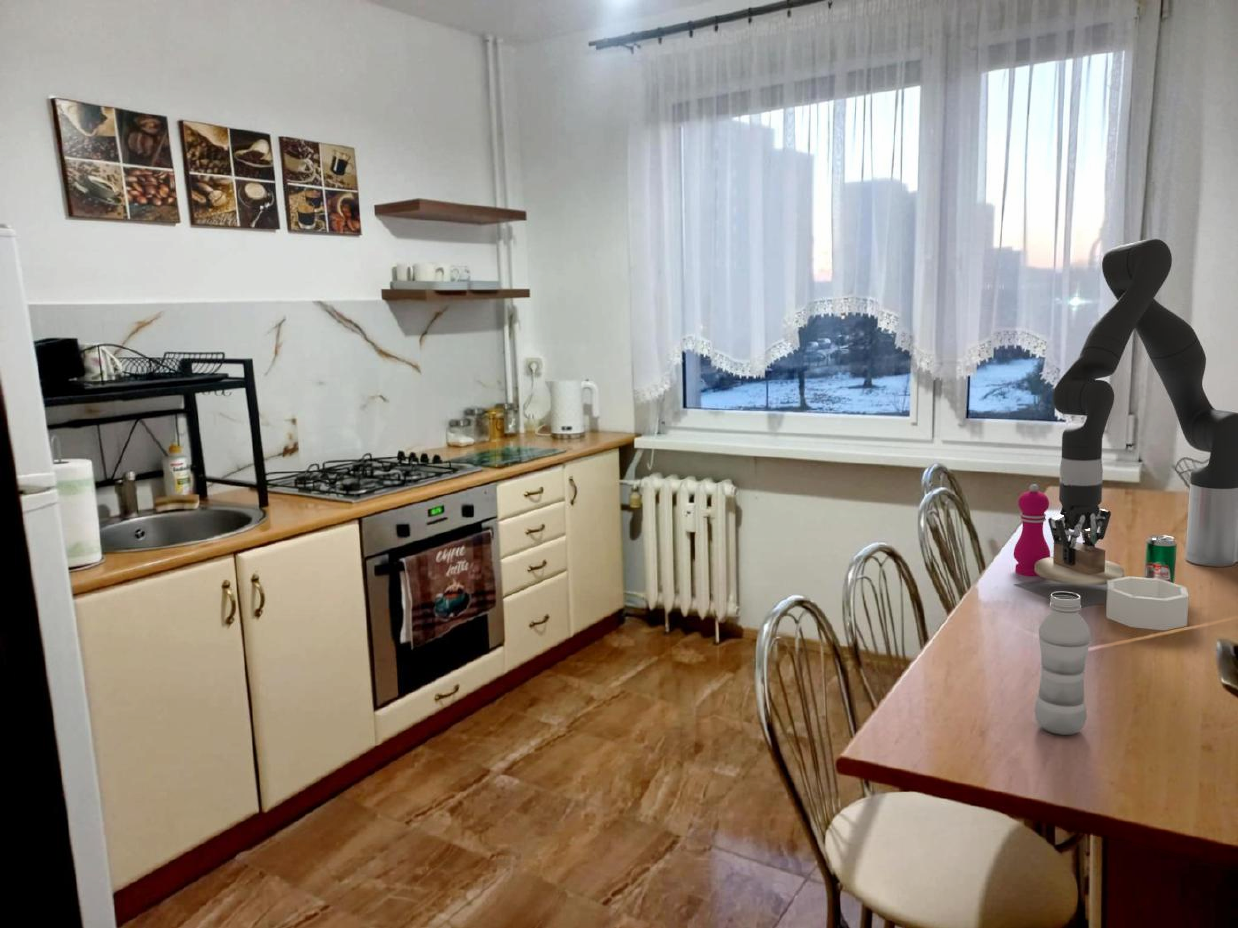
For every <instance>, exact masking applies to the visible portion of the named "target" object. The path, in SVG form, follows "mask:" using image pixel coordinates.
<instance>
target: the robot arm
mask: <svg viewBox="0 0 1238 928" xmlns="http://www.w3.org/2000/svg"><path fill="white" fill-rule="evenodd" d="M1172 255H1173V254H1172V252H1171V250H1170V247H1169V246H1168V244H1167V243H1166V242H1164V240H1161V239H1157V238H1150V239H1144V240H1140V241H1135V242H1130V243H1127V244H1122V245H1119V246H1116V247H1112V248H1110V249H1109V250H1108V251H1106V252H1105V253H1104V255H1103V257H1102V260H1101V261H1102V262H1101V269H1102V274H1103V277H1104V279H1105V282H1106V284H1107V286H1108V288H1109V289H1110V291H1111V293H1112V294H1113V296H1114V297H1115V299H1116V300H1117V301H1116V302H1115V303H1114V304H1113V305H1112V307H1110V308H1109V309H1108V310H1107V311H1106V312H1105V313H1104V314H1103V315H1102V316H1101V317H1100V318H1099V319H1098V321H1097V322H1096V323H1095V324H1094V326H1093V327H1092V328H1091V330H1090V331H1089V333H1088V335H1087V337H1086V340H1085V342H1084V344H1083V347H1082V349H1081V351H1080V354H1079V356H1078V358H1077V359H1075V361H1074V362H1073V363H1072V365H1071V366H1070V367H1069V368H1068V370H1067V371H1065V373H1064V374H1063V376H1061V378H1060V379H1059V380H1058V382H1057V384H1056V385H1055V388H1054V390H1053V393H1052V403H1053V407H1054V409H1056V411H1057V412H1059V414H1063V415H1069V416H1083V417H1084V416H1086V419H1085V421H1084V423H1083V425H1079V426H1078V425H1076V426H1072V427H1071V426H1070V427H1067V428H1066V429H1064V430H1063V432H1062V433H1061V434H1062V435H1061V457H1060V458H1061V461H1060V466H1059V484H1058V485H1059V489H1058V491H1059V493H1058V497H1059V498H1058V500H1059V502H1060V504H1061V510H1060V512H1059V515H1057V516H1055V517H1049V518H1048V520H1047V521H1048V525H1049V529H1050V533H1051V535H1052V536H1051V537H1052V540H1053V544H1054V543H1055V544H1059V545H1062V546H1063V562H1064V563H1065V564H1067V565H1070V566H1073V565H1075V549H1076V548H1074V547H1075V544H1076V542H1077V540H1078V538H1079V537H1080V535H1081V537H1082V541H1083V542H1081V543H1083V544H1086V545H1089V546H1093V547H1096V544H1097V543H1098V541H1099V540H1100V541H1101V540H1104V538H1105V536H1106V532H1107V528H1108V526H1109V523H1110V519H1111V515H1112V512H1111V511H1110V510H1107V509H1103V508H1100V506H1099V505H1100V504H1101V503H1102V500H1103V471H1104V469H1103V461H1102V460H1103V459H1102V455H1103V438H1104V433H1105V429H1106V427H1107V423H1108V420H1109V417H1110V415H1111V411H1112V409H1113V407H1114V403H1115V392H1114V389H1113V387H1112V386H1111V383H1109V382H1107V381H1105V380H1102V379H1103V378H1107V377H1110V376H1112V375H1113V374H1115V372H1116V370H1117V368H1118V366H1119V365H1120V364H1119V363H1120V361H1121V359H1122V356H1123V354H1124V352H1125V349H1126V348H1127V347H1126V346H1127V344H1128V342H1129V340H1130V337H1131V336H1132V334H1133V332H1134V330H1135V331H1136V333H1137V334H1138V337H1139V338H1140V340H1141V342H1142V343H1143V346H1144V348H1145V351H1146V354H1147V356H1148V357H1149V360H1150V362H1151V363H1152V365H1153V367H1154V369H1155V371H1156V373H1157V374H1158V376H1159V378H1160V380H1161V382H1162V384H1163V386H1164V389H1165V390H1166V393H1167V395H1168V398H1169V399H1170V402H1171V403H1172V405H1173V408H1174V411H1175V414H1176V417H1177V419H1178V422H1179V426H1180V428H1181V432H1182V434H1183V436H1184V439H1185V440H1186V442H1187V444H1188V445H1189V446H1191V447H1192V448H1193V449H1195V450H1198V451H1201V452H1206V453H1210V455H1209V459H1208V463H1207V465H1205V466H1203V467H1202V466H1201V467H1197V468H1194V469H1193V470H1192V471H1191V473H1190V478H1189V479H1190V480H1189V482H1190V483H1189V495H1188V497H1189V498H1188V511H1187V512H1188V513H1187V523H1186V524H1187V525H1186V526H1187V527H1186V528H1187V529H1186V541H1185V555H1184V556H1185V557H1184V559H1185V560H1186V561H1187V562H1189V563H1193V564H1196V565H1201V566H1205V567H1206V566H1207V567H1218V568H1219V567H1225V568H1226V567H1231V566H1234V565H1235V564H1236V562H1238V412H1234V411H1227V410H1221V409H1216V408H1215V407H1214V406H1213V405H1212V404H1211V403H1210V401H1209V399H1208V396H1207V395H1206V393H1205V390H1204V388H1203V380H1204V375H1205V371H1206V365H1207V357H1206V352H1205V350H1204V348H1203V346H1202V344H1201V341H1200V339H1199V337H1198V335H1197V333H1196V332H1195V330H1194V329H1193V327H1192V326H1191V325H1190V324H1189V323H1188V322H1186V321H1185V320H1184V319H1183V318H1181V317H1180V316H1179V315H1177V314H1176V313H1174V312H1172V311H1171V310H1169V309H1168V308H1166V307H1165V306H1164V305H1162V304H1161V303H1159V302H1158V301H1157V300H1156V298H1155V297H1156V296H1157V294H1158V293H1159V291H1160V289H1161V287H1162V286H1163V285H1164V283H1165V282H1166V280H1167V278H1168V276H1169V275H1170V272H1171V269H1172V263H1173V258H1172V257H1173V256H1172ZM1099 527H1100V528H1099ZM1071 530H1072V531H1071ZM1069 539H1070V541H1068V540H1069Z"/></svg>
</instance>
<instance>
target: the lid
mask: <svg viewBox="0 0 1238 928" xmlns="http://www.w3.org/2000/svg"><path fill="white" fill-rule="evenodd" d="M1068 541H1070V538H1069V539H1068ZM1074 548H1076V549H1075V565H1073V566H1070V565H1067V564H1065V563H1064V562H1063V546H1062V545H1059V544H1055V543H1054V542H1053V555H1052V556H1050V557H1048V558H1044V559H1041V560H1038V561H1037V562H1036V563H1035V572H1036V573H1037V574H1038V575H1039V577H1041V578H1042V579H1049V580H1052V581H1056V582H1060V583H1066V584H1074V585H1106V584H1107V580H1112V579H1117V578H1123V577H1124V576H1125V569H1124V568H1123V567H1122V566H1121V565H1120V564H1118V563H1116V562H1113V561H1109V560H1106V549H1103V548H1099V547H1096V546H1095V547H1093V546H1089V545H1086V544H1083V543H1082V542H1080V541H1076V544H1075V547H1074Z"/></svg>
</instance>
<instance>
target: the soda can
mask: <svg viewBox="0 0 1238 928" xmlns="http://www.w3.org/2000/svg"><path fill="white" fill-rule="evenodd" d="M1177 547H1178V545H1177V542H1176V541H1175V537H1173V536H1169V535H1163V534H1155V535H1154V534H1153V535H1149V536H1148V539H1147V540H1146V542H1145V560H1144V561H1145V562H1144V577H1143V578H1154V579H1162V580H1165V581H1168V582H1172V583H1175V578H1176V577H1175V575H1176V565H1177V563H1176V562H1177Z"/></svg>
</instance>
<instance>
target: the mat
mask: <svg viewBox="0 0 1238 928" xmlns="http://www.w3.org/2000/svg"><path fill="white" fill-rule="evenodd" d="M1013 585H1014V586H1016V587H1019V588H1021V589H1023V590H1025V591H1028V592H1031V593H1034V594H1035V595H1038V596H1041V597H1044V598H1046V599H1049V600H1051V594H1052V593H1054V592H1071V593H1075V594H1078V595H1079V596H1080V598H1081V599H1080V605H1081V609H1082V608H1086V607H1091V606H1097V605H1103V604H1106V597H1107V584H1106V585H1074V584H1066V583H1060V582H1056V581H1052V580H1049V579H1046V578H1042V579H1037V580H1030V581H1026V582H1019V583H1015V584H1013Z"/></svg>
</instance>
